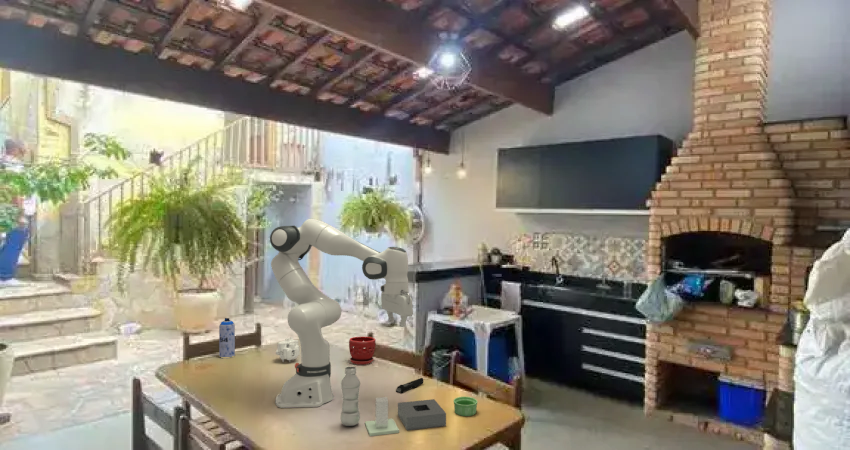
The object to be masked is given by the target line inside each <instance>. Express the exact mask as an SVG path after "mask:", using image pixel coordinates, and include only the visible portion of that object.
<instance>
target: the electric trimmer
mask: <svg viewBox="0 0 850 450" xmlns="http://www.w3.org/2000/svg"><path fill="white" fill-rule="evenodd" d="M422 384H424V378H423V377H420V378H417V379H414V380H411V381H409V382H407V383H403V384H400V385H398V386H397V387H396V388H395V392H396V393H397V394H404V392H407V391H409V390H411V389H415V388H417V387H419V386H420V385H422Z"/></svg>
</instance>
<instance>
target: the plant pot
mask: <svg viewBox="0 0 850 450" xmlns="http://www.w3.org/2000/svg"><path fill="white" fill-rule="evenodd" d="M376 343H377V342H376V338H375V337H372V336H354V337H350V338H349V339H348V347H349V348H348V349H349V354H350V359H349V361H350V363H352V364H355V365H357V366H360V365H361V366H363V365H369V364H372V362H374V357H373V356H374V354H375V350H376Z"/></svg>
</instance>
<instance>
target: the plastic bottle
mask: <svg viewBox="0 0 850 450" xmlns="http://www.w3.org/2000/svg"><path fill="white" fill-rule="evenodd" d="M344 369H345V370H344V374H345V375H344V377H343V378H342V380H341V382H340V387H341V393H342V397H341V398H342V406H341V413H340V422H341V424H342V425H343V426H345V427H353V426H357V425H358V424H359V422H360V419H361V416H360V414H361V413H360V410H359V409H360V408H359V396H360V395H359V394H360V387H361V381H360V379H359V377H358V376H357V375H356V374H357V368H356V366H346V367H345V368H344Z"/></svg>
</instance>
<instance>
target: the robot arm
mask: <svg viewBox="0 0 850 450" xmlns="http://www.w3.org/2000/svg"><path fill="white" fill-rule="evenodd" d="M269 242H270V245H271V246H272V248H273V249H275V251H278V252H277V254H276V255H275V256H274V257H273V258H272V260H271V262H270V266H271V270H272V273H273V274H274V277H275V279H276V282H277V283H278V284H279V286H280V287H281V289H282V291H283V292H284V294H285V295H286V297H287V299H288V300H289V301H291V302H293V303H295V304H298V305H296V306H295V307H293V308H291V309H290V310H289V312H288V314H287V323H288V326H289V328H290V330H292V331H293V332H294V333H295V334H296V335H297V338H298V341H299V344H300V357H301V361H300V362H301V363H299V362H296V363H295V364H294V369H295V374H294V375H292V377H290V378H288V380H286V381H285V382H284V383H283V386H282V388H281V391H280V393H278V394H277V395H276V396H275V403H274V404H275V405H276V407H278V408H281V409H283V408H284V409H286V408H287V409H288V408H289V409H291V408H293V409H294V408H317V407H321V406H322V405H323V404H326V403H328V402H331V401H332V400H333V399H334V397H335V396H334V393H333V389H332V383H331V374H332V365H331V361H330V355H331V354H330V349H331V348H330V346H331V345H330V342H329V341H328V340H327V339H326V338H324V336H323V334H322V328H325V327H329V326H331V325H333V324H335V323H336V322H338V321H339V319H340V318H341V315H342V307H341V304H339V302H338V301H337V300H336V299H332V298H330V297H329V296H327V295H326V294H325V293H323V292H322V291H321V290H319V288H318V287H316V286H315V285H314V284H313V282H312V281H311V279H310V277H308V275H307V273H306V272H305V270H304V269H303V267H302V266H301V264H300V262H299V261H301V260H303V259H304V257H305V256H306V255H307V254H308V253H309V252H310V250H311V249H312V247H313V248H315V249H317V250H319V252H322V253H323V254H327V255H330V256H347V257H348V256H349V257H354V258H356V259H358V260H360V261H362V265H361V266H362V267H361V268H362V269H361V270H362V273H363V275H364V277H366V279H368V280H373V281H376V280H381V279H384V281H385V283H383V285H381V286H380V289H379V290H380V292H381V296H380V297H381V299H380V300H381V302H380V303H381V307H382V309H383V310H385V311H386V314H387V317H388V322H389V323H394V322H395V317H394V314H396V315H399V316H400V321H399V327H401V328H404V327H406V322H407V319H408V318H409V317H412V315H413V313H414V308H413V299H412V296H411V295H410V294H409V278H408V273H409V257H408V253H407V250H406V249H404V248H401V247H398V246H389V247H387V248H386V249H384V250H383V251H381V252H380V251H379V250H376V249H374V248H372V247H370V246H367V245H366V244H364V243H362V242H360V241H357V240H355V239H354V238H352V237H350V236H349V235H347V234H345V233H344V232H343V231H341V230H339V229H338V228H336V227H334V226H333V225H330V224H329V223H327V222H325V221H322V220H319V219H316V218H308V219H305V220H304V222H302V224H301V225H300V226H299V227H297V225H281V226H277V227H275V228H274V229H273V230H272V231H271V232H270V234H269Z"/></svg>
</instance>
